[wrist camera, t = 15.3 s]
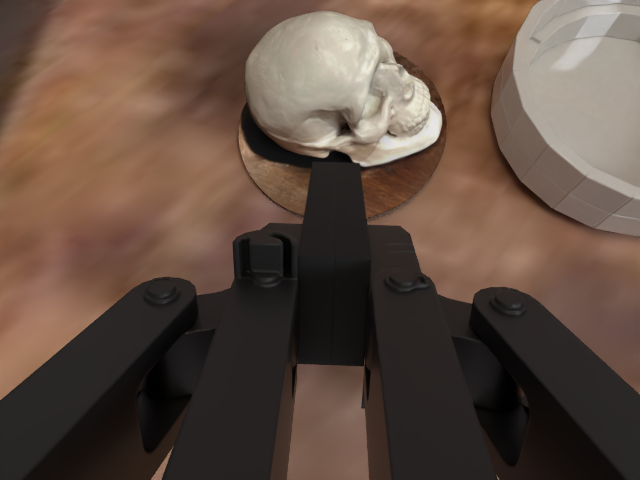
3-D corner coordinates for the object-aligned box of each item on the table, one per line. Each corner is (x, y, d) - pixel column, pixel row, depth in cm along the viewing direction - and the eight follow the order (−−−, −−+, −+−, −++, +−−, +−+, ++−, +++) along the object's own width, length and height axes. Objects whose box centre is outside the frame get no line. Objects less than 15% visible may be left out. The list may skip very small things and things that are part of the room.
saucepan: (475, 211, 29) (501, 174, 24) (500, 11, 33) (525, -50, 29) (747, 263, 27) (824, 233, 23) (733, 47, 32) (794, -11, 28)
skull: (461, 36, 31) (492, 39, 22) (420, 197, 35) (431, 257, 26) (268, 1, 32) (217, -11, 22) (249, 163, 36) (199, 210, 26)
